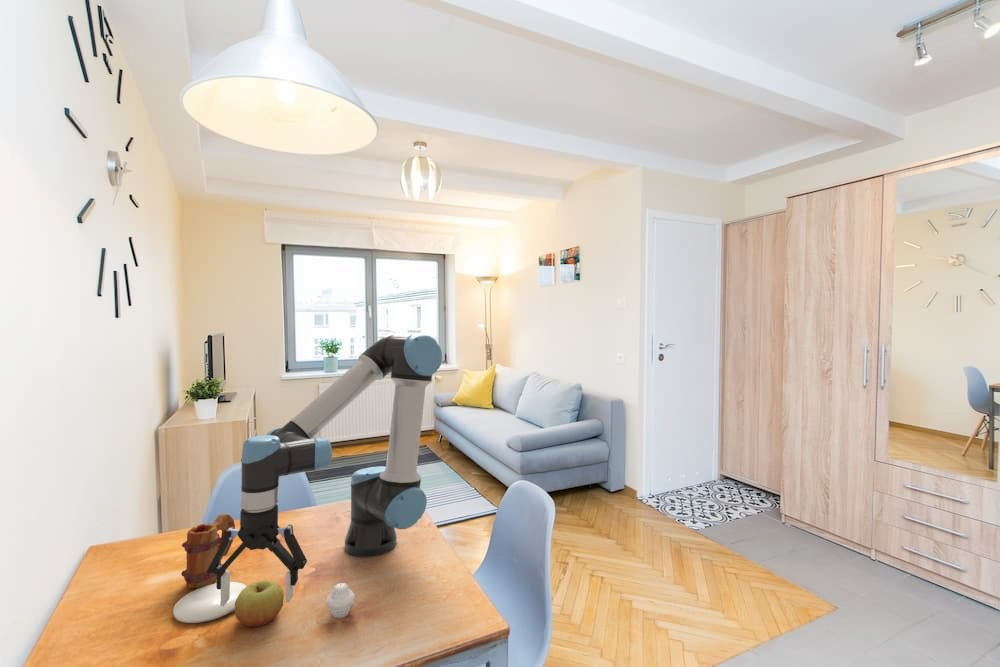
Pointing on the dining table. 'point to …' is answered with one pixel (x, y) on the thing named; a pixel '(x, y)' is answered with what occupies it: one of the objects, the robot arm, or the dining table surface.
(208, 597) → the plate
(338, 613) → the white rounded piece
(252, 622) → the apple
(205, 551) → the mug
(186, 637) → the dining table surface
